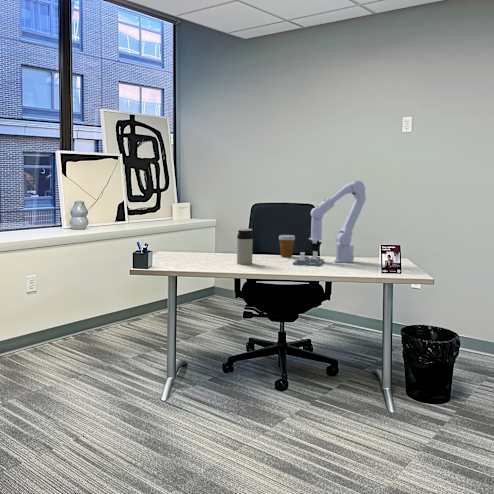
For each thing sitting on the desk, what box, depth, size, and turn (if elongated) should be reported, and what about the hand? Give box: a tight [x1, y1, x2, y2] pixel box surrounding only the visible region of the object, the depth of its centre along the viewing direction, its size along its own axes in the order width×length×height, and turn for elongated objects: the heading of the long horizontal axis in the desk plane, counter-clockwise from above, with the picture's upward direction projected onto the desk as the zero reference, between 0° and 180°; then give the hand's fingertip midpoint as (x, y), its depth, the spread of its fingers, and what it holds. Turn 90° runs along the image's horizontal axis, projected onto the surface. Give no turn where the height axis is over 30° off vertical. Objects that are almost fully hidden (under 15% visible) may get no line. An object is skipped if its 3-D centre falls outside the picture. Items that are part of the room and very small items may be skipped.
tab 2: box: [312, 250, 318, 260], centre depth 299 cm, size 2×4×4 cm, turn 167°
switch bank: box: [292, 256, 325, 267], centre depth 297 cm, size 14×18×2 cm
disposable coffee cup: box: [278, 234, 296, 258], centre depth 319 cm, size 10×10×12 cm
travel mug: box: [236, 228, 254, 266], centre depth 292 cm, size 8×8×18 cm
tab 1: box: [299, 252, 306, 260], centre depth 295 cm, size 2×4×4 cm, turn 167°
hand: (315, 255), depth 302 cm, fingers closed
